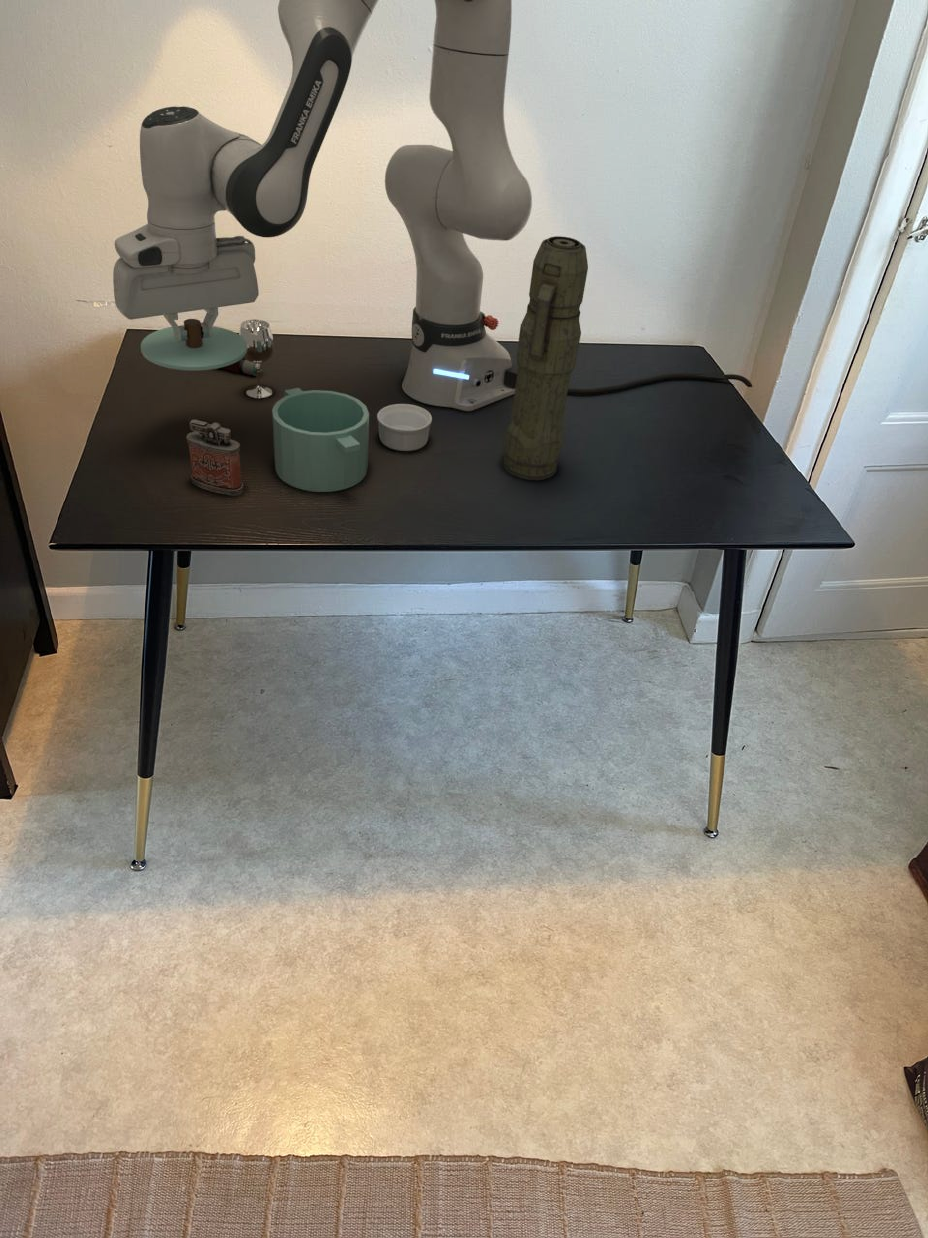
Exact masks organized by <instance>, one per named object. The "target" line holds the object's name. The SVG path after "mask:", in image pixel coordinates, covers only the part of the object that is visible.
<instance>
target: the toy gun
mask: <svg viewBox="0 0 928 1238" xmlns="http://www.w3.org/2000/svg"><path fill="white" fill-rule="evenodd" d="M255 364H256V363H253V362H249V361H247V360H246V359H244V357H243V358H242V359H241V360H239V361H237V362H235V363H233V364H231V365H228V366H225V367H221V368H220V369H222V370H226V371H228V372H233V373H237V374H240V373H243V374H245V375H249V376H253V377H257V374H256V371H255ZM261 371H263V370H262V369H260V372H261Z"/></svg>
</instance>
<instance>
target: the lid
mask: <svg viewBox="0 0 928 1238" xmlns="http://www.w3.org/2000/svg"><path fill="white" fill-rule="evenodd" d="M201 323H202V322H201V320H200V319H197V318H187V319H185V320H184V321H183V324H181V325H180V326H183V327H184V328H185V329H186V330H187V337H188V341H182V342H177V341H176V340H175V338H174V333H173V327H172V326H168V327H165V328H161V329H158V330H155V331H153V332H151V333H150V334H148V335H146V336H145V337H144V338H143V339H142V341H141V343H140V352H141V354H142V357H144V358H145V359H146V360H147V361H149V362H150V363H152V364H154V365H156V366H159V367H162V368H167V369H170V370H177V371H189V372H193V371H194V372H195V371H210V370H216V369H222V368H221V367H225V366H228V365H231V364H233V363H235V362H237V361H239V360H241V359H242V358H243V357H244V356H245V354H246V352H247V343H246V341H245V339H244V338H243V337H242V336H240V335H239V333H237V332H235V331H233V330H231V329H227V328H224V327H221V326H214V325H213V326H212V333H213V336H212V337H208V338H202V331H201Z"/></svg>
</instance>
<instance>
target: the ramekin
mask: <svg viewBox="0 0 928 1238" xmlns="http://www.w3.org/2000/svg"><path fill="white" fill-rule="evenodd" d="M376 419H377V423H378V437H379V440H380V442H381V443H382V445H384V446H385V447H387V448H389V449H391V450H394V451H398V452H413V451H417V450H420V449H422V448H423V447H425V446H426V445H427V442H428V441H429V435H430V430H431V429H430V428H431V425H432V421H433V417H432V415H431V413H430V412H429V410H427V409H425V408H424V407H421V406H418V405H416V404H410V403H394V404H389V405H387V406H384V407H382V408H381V409H380V410H378V412H377V414H376Z"/></svg>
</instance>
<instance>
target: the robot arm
mask: <svg viewBox="0 0 928 1238" xmlns="http://www.w3.org/2000/svg"><path fill="white" fill-rule="evenodd" d="M433 1H434V5H435V22H434V24H435V25H434V31H433V41H432V42H433V43H432V55H431V56H432V57H431V69H430V81H429V94H428V99H429V105H430V109H431V111H432V113H433V114H434V116H435V118H437V119H438V121H439V122H440V123H441V124H442V125H443V127H444V129H445V130H446V133H447V134H448V137H449V140H450V144H451V149H452V150H450V149H447V148H444V147H440V146H436V145H433V144H405V145H403V146H400V147H399V148H398V149H397V150H395V152H394V153H393V154H392V156H390V159H389V160H388V163H387V166H386V169H385V173H384V188H385V192H386V196H387V199H388V200H389V202H390V204H391V205H392V206H393V208H394V209H395V210H396V211H397V212H398V214H399V216H400V218H401V219H402V221H403V223H404V226H405V229H406V232H407V233H408V236H409V239H410V242H411V245H412V249H413V254H414V259H415V269H416V271H415V272H416V281H415V282H416V283H415V284H416V285H415V286H416V289H415V306H414V308H413V309H412V320H411V349H410V356H409V360H408V365H407V368H406V372H405V375H404V378H403V379H402V383H401V388H402V390H403V392H404V393H405V394H406V395H407V396H408V397H410V398H411V399H413V400H415V401H417V402H420V403H422V404H426V405H430V406H435V407H441V408H442V407H443V408H453V409H455V410H456V409H457V410H460V411H464V412H472V411H475V410H477V409H480V408H482V407H485V406H488V405H490V404H492V403H495V402H497V401H500V400H503V399H506V398H508V397H510V396H513V395H515V388H516V381H517V373H518V363H517V362H513V363H512V357H511V355H510V353H509V351H508V350H507V349H506V348H505V347H504V346H502V344H500V343H499V342H498V341H497V340H496V339H495V338H494V337H492V336H491V335H490V334H489V333H488V332H487V330H486V328H488V329H489V330H491V331H494V330H496V329H497V327H498V326H499V320H498V318H495V317H493V315H490V314H488V315H486V314H485V313H484V312H483V311H481V305H482V294H483V284H484V270H483V267H482V264H481V262H480V260H479V259H478V257H476V255H475V254H474V253H473V252H472V250H471V249H470V248H469V245H468V244H467V241H466V239H465V235H467V236H470V237H473V238H476V239H480V240H486V241H487V240H488V241H502V242H503V241H504V242H507V241H511V240H513V239H514V238H515V237H517V236H519V234H520V233H521V232H522V231H523V230H524V228H525V227H526V225H527V224H528V221H529V219H530V216H531V213H532V208H533V195H532V190H531V187H530V184H529V181H528V179H527V178H526V177H525V176H524V174H523V173H522V171H521V170H520V169H519V167H518V164H517V163H516V161H515V158H514V156H513V152H512V150H511V148H510V144H509V141H508V137H507V131H506V130H507V129H506V123H505V99H506V98H505V96H506V84H507V74H508V64H509V56H510V46H511V37H512V36H511V35H512V15H513V12H512V11H513V9H512V7H513V5H512V4H513V3H512V0H433ZM378 2H379V0H279V1H278V5H277V14H278V20H279V24H280V28H281V31H282V34H283V37H284V38H285V41H286V43H287V45H288V47H289V51H290V55H291V62H292V71H291V78H290V82H289V84H288V85H289V86H288V87H287V90H286V92H285V96H284V98H283V100H282V102H281V106H280V108H279V111H278V112H277V115H276V117H275V119H274V122H273V124H272V126H271V130H270V132H269V134H268V136H267V138H266V139H265V141H264V142H263V143H262V144H261V143H259V142H258V141H257V140H255V139H253V138H252V137H249V136H248V135H246V134H244V133H239V132H237V131H233V130H230V129H228V128H225V127H223V126H220V124H217V123H215V122H213V121H212V120H210V119H208V118H207V117H206V116H204V115H203V114H202V113H200V111H199V110H197V109H195V108H194V107H189V106H184V105H183V106H166V107H162V108H159V109H157V110H154V111H152V112H150V113H149V114H148V115H147V116H145V118H144V119H143V120H142V123H141V124H140V130H139V159H140V171H141V179H142V185H143V189H144V192H145V193H146V197H147V202H148V203H147V212H146V220H147V223H146V224H145V225H143V226H140V227H139V228H136V229H133V230H132V231H130V232H128V233H126V234H123V235H121V236H119V237H117V238H116V239H115V241H114V249H115V251H116V253H117V255H118V256H119V258H118V259H117V260H116V262H115V263H114V265H113V271H112V273H113V275H112V276H113V277H112V278H113V279H112V280H113V281H112V282H113V296H114V302H115V307H116V309H117V311H118V312H119V313H120V314H121V315H122V316H123V317H125V318H126V319H128V320H138V319H146V318H152V317H159V316H163V317H164V318H165V320H166V321H167V323H168V324H169V325H170V327H173V333H174V338H175V340H176V341H177V342H182V341H188V337H187V330H186V329H185V328H184V327H183V326H181V325H178V324H177V322H176V321H178V320H179V314H181V313H187V312H196V311H203V310H204V312H206V314H205V316H204V318H203V321H202V322H201V331H202V338H208V337H212V336H213V333H212V326H214V324H215V322H216V320H217V317H218V316H219V308H224V307H230V306H239V305H245V304H251V303H255V302H256V300H257V299H258V297H259V294H260V293H259V292H260V290H259V283H258V276H257V272H256V268H255V262H256V247H255V245H254V242H253V241H252V240H250V239H248V238H246V237H245V236H243V235H235V236H231V237H230V236H229V237H227V236H225V237H217V232H216V231H217V230H216V220H215V219H216V218H215V215H216V214H217V213H218V212H220V211H221V212H223V211H227V212H228V213H230V214H231V215H232V216H233V218H234V219H235V220H236V221H237V222H238V223H239V224H240V226H241V227H242V228H243V229H244V230H246V231H247V232H248V233H250V234H251V235H254V236H257V237H261V238H275V237H279V236H282V235H284V234H287V232H290V231H291V230H292V229H293V228H294V227H295V226H296V225H297V224H298V222H299V221H300V219H301V218H302V216H303V214H304V211H305V209H306V205H307V200H308V194H309V186H310V179H311V174H312V170H313V167H314V165H315V162H316V160H317V157H318V154H319V152H320V150H321V147H322V146H323V145H322V144H323V142H324V140H325V138H326V135H327V133H328V131H329V127H330V125H331V123H332V121H333V119H334V116H335V113H336V112H337V109H338V106H339V104H340V101H341V99H342V96H343V93H344V92H345V88H346V86H347V82H348V80H349V76H350V73H351V68H352V64H353V59H354V55H355V52H356V50H357V48H358V45H359V42H360V39H361V38H362V35H363V34H364V31H365V29H366V27H367V25H368V23H369V21H370V19H371V17H372V15H373V13H374V11H375V9H376V7H377V5H378ZM698 375H699V376H698ZM700 375H705V373H704V374H701V373H668V374H661V375H655V376H651V377H645V378H640V379H637V380H632V381H629V382H624V383H621V384H616V385H610V386H603V387H596V388H572V387H571V388H570V387H568V392H567V395H568V394H569V395H597V394H605V393H610V392H611V393H612V392H616V391H617V392H618V391H623V390H626V389H630V388H633V387H637V386H641V385H646V384H647V385H648V384H651V383H656V382H662V381H666V380H683V379H684V380H686V379H687V380H702V381H703V380H705V381H725V380H726V381H727V380H732V381H733V380H735V381H739V382H741V383H743V384H744V386H746V387H748V388H753V384H752V382H751V381H750V379H748V378H747V377H745V376H742V375H739V374H734V373H733V374H731V373H729V374H728V373H727V374H716V375H717V376H719V375H721V376H722V375H724V376H725V377H726V378H727V379H723V378H716V377H706V376H700Z"/></svg>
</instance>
